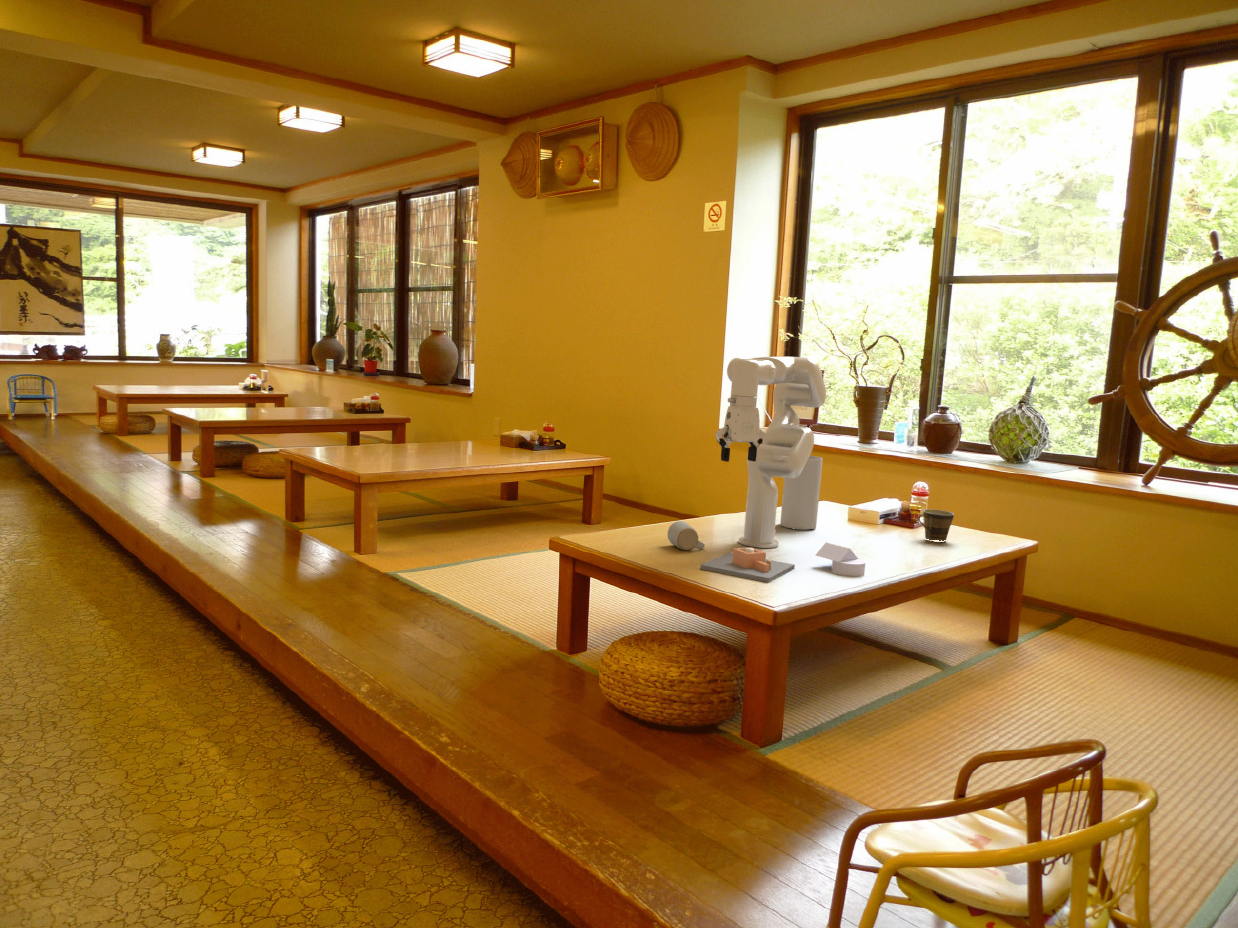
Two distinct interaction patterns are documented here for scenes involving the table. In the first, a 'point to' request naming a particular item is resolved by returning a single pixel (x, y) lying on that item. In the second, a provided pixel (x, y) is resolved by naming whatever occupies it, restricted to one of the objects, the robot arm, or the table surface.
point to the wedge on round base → (842, 560)
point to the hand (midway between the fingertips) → (738, 461)
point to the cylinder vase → (802, 496)
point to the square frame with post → (750, 559)
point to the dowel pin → (769, 563)
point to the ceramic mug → (683, 536)
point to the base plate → (727, 567)
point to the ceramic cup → (936, 524)
